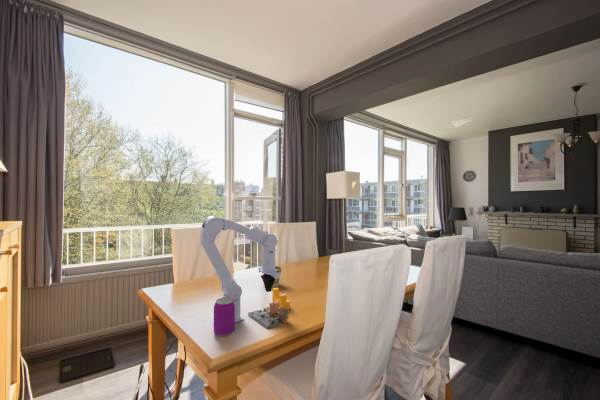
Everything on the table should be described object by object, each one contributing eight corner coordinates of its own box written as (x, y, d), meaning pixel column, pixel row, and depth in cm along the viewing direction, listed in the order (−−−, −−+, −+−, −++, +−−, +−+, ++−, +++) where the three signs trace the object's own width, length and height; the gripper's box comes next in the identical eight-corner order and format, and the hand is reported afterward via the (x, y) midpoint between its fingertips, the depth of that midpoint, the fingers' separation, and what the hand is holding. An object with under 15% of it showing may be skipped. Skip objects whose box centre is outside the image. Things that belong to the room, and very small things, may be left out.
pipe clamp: (290, 308, 133) (290, 294, 133) (281, 310, 131) (281, 295, 131) (280, 300, 144) (280, 287, 144) (272, 301, 142) (272, 288, 142)
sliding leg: (260, 317, 118) (260, 307, 118) (257, 315, 120) (257, 306, 120) (279, 312, 124) (279, 302, 124) (276, 310, 125) (276, 301, 125)
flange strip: (267, 328, 112) (267, 324, 112) (248, 315, 124) (248, 311, 124) (280, 324, 115) (280, 320, 115) (260, 312, 128) (260, 308, 128)
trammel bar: (269, 327, 113) (269, 313, 113) (250, 315, 124) (250, 302, 124) (288, 321, 118) (288, 308, 118) (269, 310, 130) (269, 298, 130)
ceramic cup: (280, 288, 162) (280, 270, 162) (263, 287, 163) (263, 270, 163) (282, 281, 175) (282, 264, 175) (266, 281, 176) (266, 264, 176)
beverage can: (235, 327, 113) (235, 296, 113) (233, 336, 105) (234, 303, 105) (215, 328, 112) (215, 297, 112) (212, 337, 104) (212, 304, 104)
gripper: (285, 262, 124) (285, 293, 124) (267, 256, 136) (267, 285, 136) (271, 264, 120) (271, 297, 120) (254, 258, 131) (254, 288, 131)
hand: (268, 291), depth 127 cm, fingers closed
